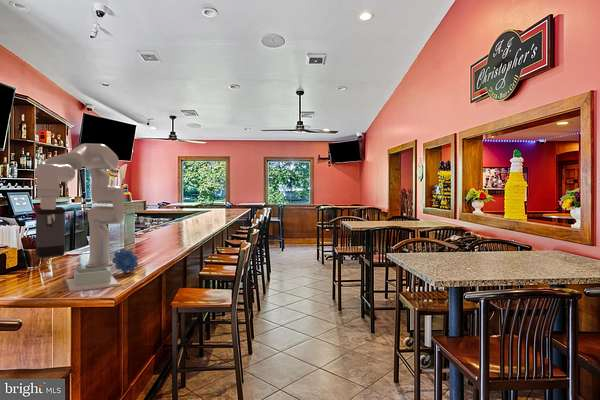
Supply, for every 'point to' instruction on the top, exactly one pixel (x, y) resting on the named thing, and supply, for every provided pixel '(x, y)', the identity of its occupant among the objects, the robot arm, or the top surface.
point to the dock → (91, 279)
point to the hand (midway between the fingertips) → (49, 238)
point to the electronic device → (50, 233)
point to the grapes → (125, 260)
